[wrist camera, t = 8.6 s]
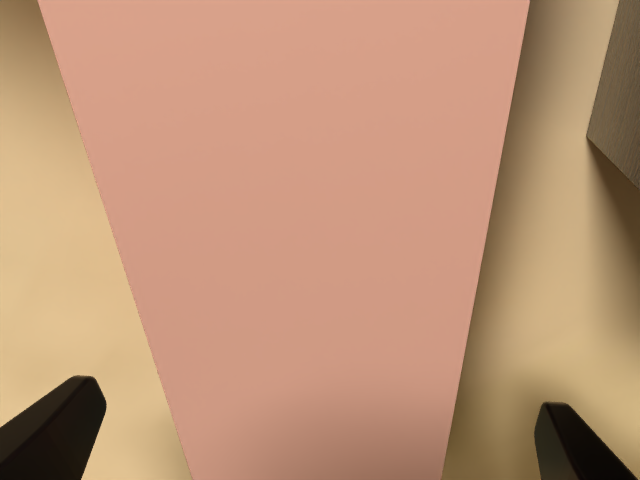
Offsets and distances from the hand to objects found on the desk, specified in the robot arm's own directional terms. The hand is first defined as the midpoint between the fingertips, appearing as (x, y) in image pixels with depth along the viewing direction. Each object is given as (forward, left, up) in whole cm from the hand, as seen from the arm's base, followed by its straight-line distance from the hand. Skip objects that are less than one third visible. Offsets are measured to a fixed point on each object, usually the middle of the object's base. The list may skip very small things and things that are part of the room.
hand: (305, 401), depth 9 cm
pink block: (0, -4, -3) cm, 5 cm away
